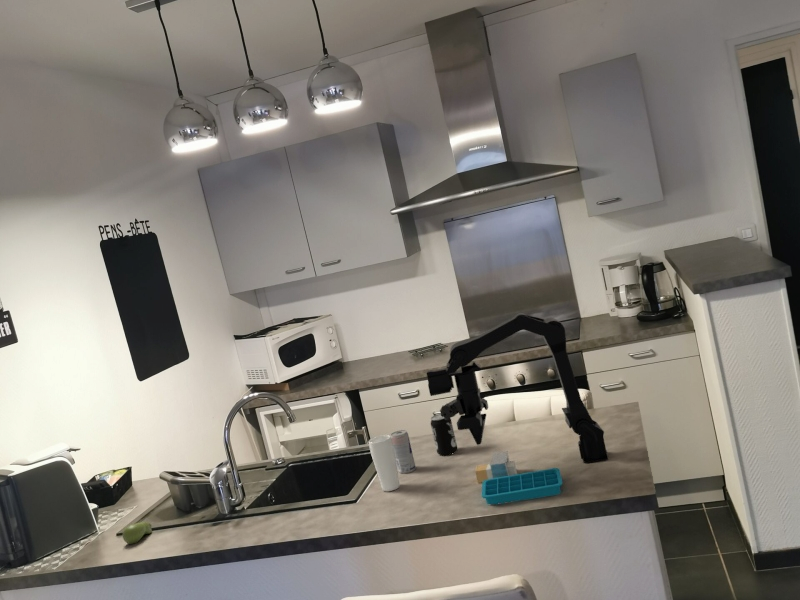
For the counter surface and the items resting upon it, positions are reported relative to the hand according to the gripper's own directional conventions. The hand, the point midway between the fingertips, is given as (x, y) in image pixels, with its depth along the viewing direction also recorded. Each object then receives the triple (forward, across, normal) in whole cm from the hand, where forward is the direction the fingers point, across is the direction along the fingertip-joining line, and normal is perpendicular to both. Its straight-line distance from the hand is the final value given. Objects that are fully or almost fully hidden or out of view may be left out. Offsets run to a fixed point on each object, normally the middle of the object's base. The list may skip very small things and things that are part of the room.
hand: (479, 443), depth 193 cm
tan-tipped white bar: (+10, 0, +3) cm, 11 cm away
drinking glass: (+11, -3, -28) cm, 31 cm away
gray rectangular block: (+10, 0, +5) cm, 11 cm away
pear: (+12, +10, -104) cm, 106 cm away
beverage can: (+11, -27, -16) cm, 33 cm away
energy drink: (+11, -16, -26) cm, 33 cm away
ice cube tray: (+11, +12, +11) cm, 19 cm away
